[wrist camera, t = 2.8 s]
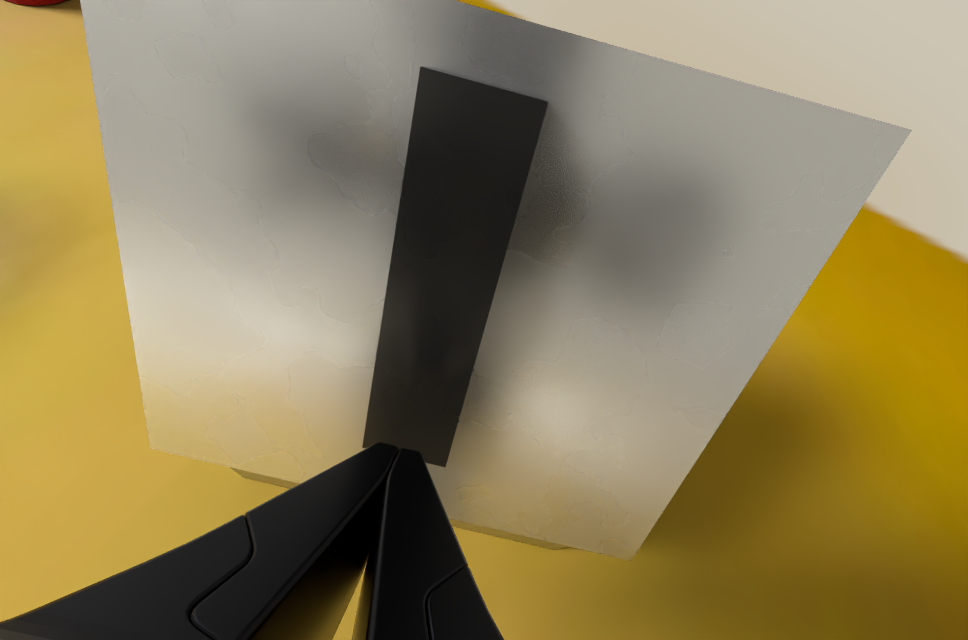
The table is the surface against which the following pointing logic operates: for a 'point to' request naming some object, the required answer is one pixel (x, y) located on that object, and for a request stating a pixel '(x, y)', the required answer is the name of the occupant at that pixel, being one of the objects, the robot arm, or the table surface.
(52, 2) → the plastic cup
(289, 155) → the lid
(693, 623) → the table surface
